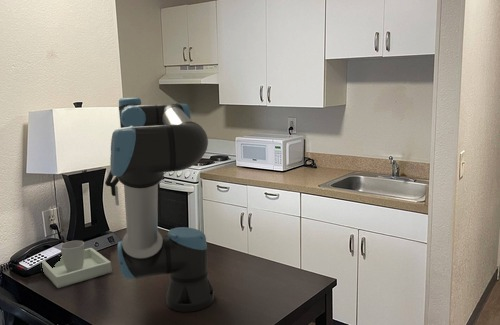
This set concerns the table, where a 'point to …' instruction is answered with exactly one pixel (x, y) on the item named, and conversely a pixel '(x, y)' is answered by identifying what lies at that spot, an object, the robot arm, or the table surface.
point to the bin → (91, 268)
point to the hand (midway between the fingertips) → (136, 202)
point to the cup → (73, 255)
